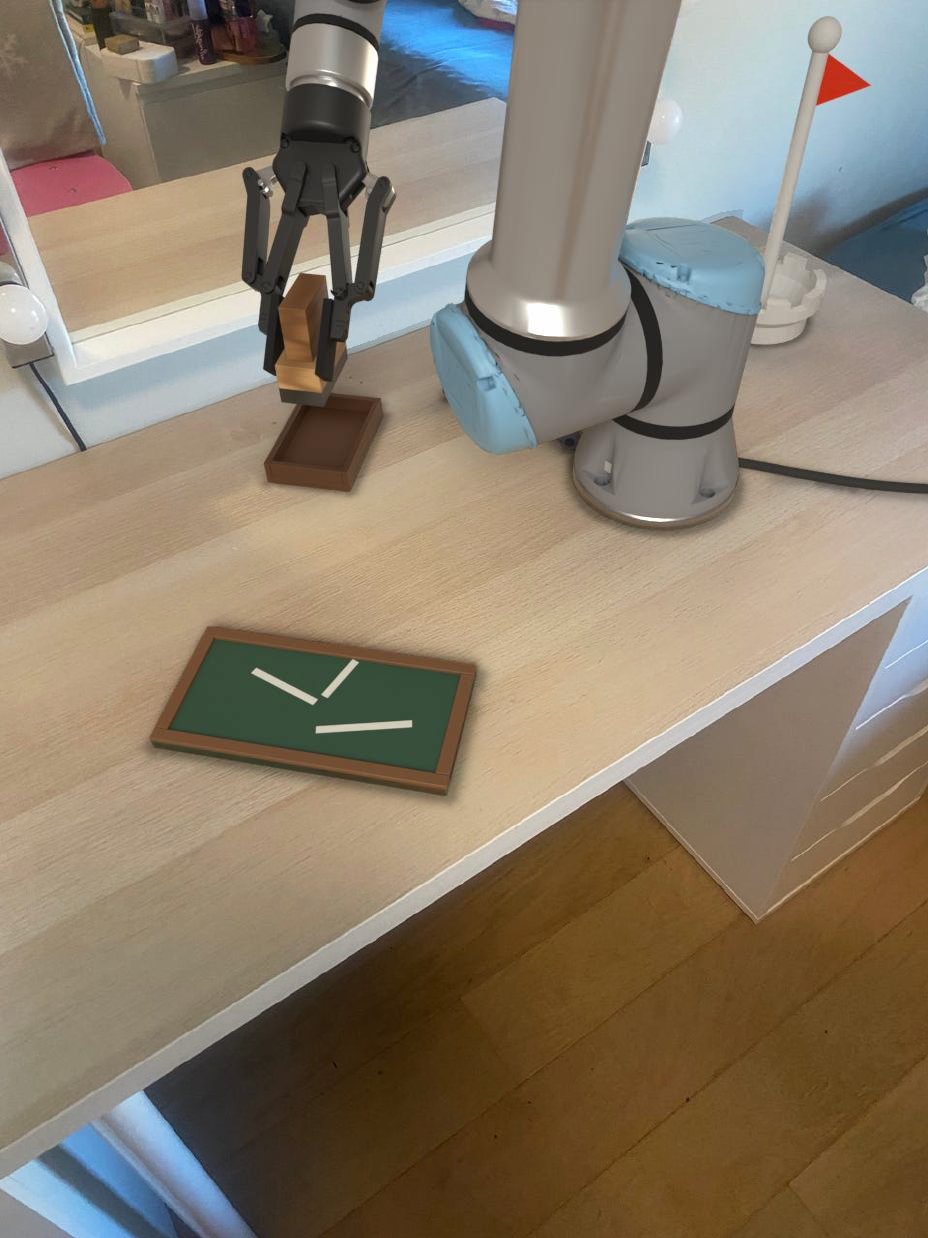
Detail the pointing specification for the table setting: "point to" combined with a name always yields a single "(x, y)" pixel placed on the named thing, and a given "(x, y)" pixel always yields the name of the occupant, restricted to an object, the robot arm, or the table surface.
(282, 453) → the shallow brown tray
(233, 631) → the chalkboard
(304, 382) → the eraser
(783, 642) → the table surface
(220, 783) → the table surface
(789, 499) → the table surface
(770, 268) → the flag stand
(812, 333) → the table surface
